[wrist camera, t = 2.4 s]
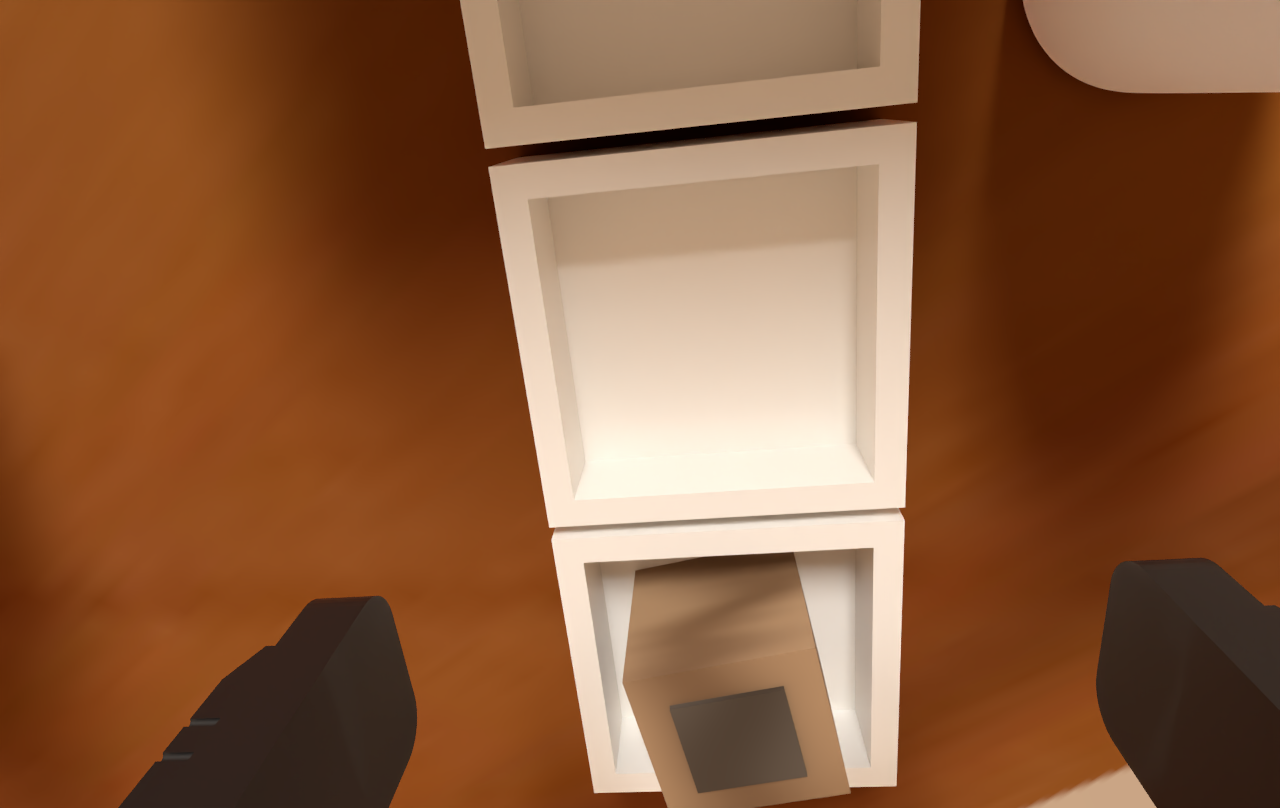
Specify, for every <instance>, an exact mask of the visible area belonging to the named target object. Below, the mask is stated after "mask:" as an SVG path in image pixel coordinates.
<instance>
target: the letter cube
mask: <svg viewBox="0 0 1280 808" xmlns="http://www.w3.org/2000/svg"><path fill="white" fill-rule="evenodd" d="M622 684H623V686H624V689H625V692H626V695H627V697H628V700H629V703H630V705H631V708H632V711H633V714H634V716H635V719H636V722H637V725H638V727H639V730H640V733H641V736H642V738H643V741H644V744H645V747H646V749H647V752H648V755H649V758H650V760H651V763H652V766H653V768H654V771H655V774H656V777H657V779H658V782H659V785H660V788H661V790H662V793H663V796H664V799H665V801H666V804H667V807H668V808H755V807H762V806H769V805H775V804H782V803H789V802H796V801H802V800H809V799H816V798H823V797H829V796H836V795H843V794H850V793H851V791H850V787H849V783H848V778H847V774H846V770H845V765H844V761H843V757H842V752H841V748H840V744H839V739H838V735H837V731H836V726H835V722H834V718H833V713H832V709H831V705H830V700H829V696H828V692H827V687H826V683H825V679H824V675H823V670H822V666H821V662H820V658H819V654H818V649H817V645H816V641H815V637H814V633H813V629H812V625H811V621H810V617H809V613H808V608H807V604H806V600H805V596H804V592H803V588H802V584H801V580H800V576H799V572H798V568H797V563H796V559H795V555H794V552H781V553H762V554H743V555H724V556H704V557H699V558H694V559H690V560H685V561H680V562H675V563H670V564H665V565H660V566H655V567H650V568H646V569H641V570H636V571H635V578H634V587H633V595H632V604H631V612H630V621H629V629H628V638H627V646H626V655H625V663H624V672H623V680H622Z"/></svg>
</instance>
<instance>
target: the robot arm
mask: <svg viewBox="0 0 1280 808" xmlns="http://www.w3.org/2000/svg"><path fill="white" fill-rule="evenodd" d="M1096 690H1097V698H1098V704H1099V708H1100V712H1101V715H1102V718H1103V721H1104V724H1105V726H1106V729H1107V731H1108V733H1109V735H1110V737H1111V739H1112V740H1113V742H1114V744H1115V745H1116V747H1117V748H1118V750H1119V751H1120V753H1121V754H1122V756H1123V757H1124V759H1125V760H1126V762H1127V763H1128V765H1129V766H1130V768H1131V769H1132V771H1133V772H1134V774H1135V775H1136V777H1137V778H1138V780H1139V782H1140V783H1141V785H1142V786H1143V788H1144V789H1145V791H1146V792H1147V794H1148V795H1149V797H1150V798H1151V800H1152V801H1153V803H1154V804H1155V806H1156V807H1157V808H1280V608H1279V607H1277V606H1275V605H1272V606H1264V605H1263V604H1262V603H1260V602H1259V601H1258V600H1257V599H1256V598H1255V597H1254V596H1252V595H1251V594H1250V593H1249V592H1248V591H1247V590H1246V589H1244V588H1243V587H1242V586H1241V585H1240V584H1239V583H1238V582H1237V581H1235V580H1234V579H1233V578H1232V577H1231V576H1230V575H1229V574H1227V573H1226V572H1225V571H1224V570H1223V569H1222V568H1221V567H1219V566H1218V565H1217V564H1215V563H1214V562H1212V561H1210V560H1208V559H1205V558H1187V559H1166V560H1146V561H1125V562H1122V563H1120V564H1119V565H1118V566H1117V567H1116V569H1115V570H1114V573H1113V575H1112V579H1111V584H1110V590H1109V597H1108V604H1107V610H1106V617H1105V623H1104V630H1103V636H1102V643H1101V650H1100V656H1099V663H1098V669H1097V677H1096ZM190 720H191V723H190V726H189V727H183V729H182V730H181V731H180V732H179V734H178V735H177V736H176V737H175V738H174V740H173V741H172V742H171V743H170V745H169V746H168V747H167V748H166V750H165V751H164V752H163V759H162V761H161V762H155V763H154V764H153V766H152V767H151V768H150V769H149V771H148V772H147V773H146V774H145V775H144V777H143V778H142V779H141V780H140V782H139V783H138V784H137V785H136V787H135V788H134V789H133V790H132V792H131V793H130V794H129V795H128V796H127V798H126V799H125V800H124V801H123V803H122V804H121V805H120V806H119V808H389V805H390V803H391V801H392V798H393V796H394V794H395V791H396V789H397V787H398V784H399V782H400V780H401V777H402V775H403V773H404V770H405V768H406V766H407V763H408V761H409V759H410V756H411V753H412V750H413V746H414V741H415V735H416V726H417V708H416V701H415V696H414V692H413V688H412V685H411V681H410V677H409V674H408V670H407V666H406V663H405V659H404V655H403V652H402V648H401V644H400V641H399V637H398V633H397V629H396V626H395V622H394V618H393V615H392V612H391V609H390V606H389V604H388V603H387V601H386V600H385V599H384V598H383V597H380V596H367V597H347V598H326V599H315V600H313V601H311V602H310V603H308V604H307V605H306V607H305V608H304V609H303V610H302V612H301V613H300V614H299V615H298V617H297V618H296V619H295V621H294V622H293V623H292V625H291V626H290V627H289V629H288V630H287V631H286V633H285V634H284V635H283V636H282V638H281V639H280V640H279V642H278V643H277V644H276V646H266V647H264V648H263V649H262V650H260V651H259V652H258V653H256V654H255V655H254V656H252V657H251V658H250V659H249V660H247V661H246V662H245V663H243V664H242V665H241V666H239V667H238V668H237V669H235V670H234V671H233V672H231V673H230V674H229V675H228V676H226V677H225V678H224V679H222V680H221V682H220V683H219V684H218V685H217V687H216V688H215V689H214V690H213V692H212V693H211V694H210V695H209V696H208V698H207V699H206V700H205V701H204V703H203V704H202V705H201V706H200V708H199V709H198V710H197V711H196V713H195V714H194V715H193V716H192V717H191V719H190Z"/></svg>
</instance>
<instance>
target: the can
mask: <svg viewBox="0 0 1280 808" xmlns="http://www.w3.org/2000/svg"><path fill="white" fill-rule="evenodd" d="M1023 4H1024V8H1025V12H1026V15H1027V19H1028V21H1029V24H1030V26H1031V29H1032V31H1033V33H1034V35H1035V37H1036V39H1037V40H1038V42H1039V44H1040V45H1041V47H1042V48H1043V49H1044V51H1045V52H1046V53H1047V55H1048V56H1049V57H1050V58H1051V59H1052V60H1053V61H1054V62H1055V63H1056V64H1057V65H1058V66H1059V67H1060V68H1062V69H1063V70H1064V71H1065V72H1067V73H1068V74H1070V75H1071V76H1073V77H1075V78H1076V79H1078V80H1080V81H1082V82H1084V83H1087V84H1089V85H1092V86H1094V87H1098V88H1101V89H1105V90H1110V91H1117V92H1126V93H1247V92H1280V0H1023Z"/></svg>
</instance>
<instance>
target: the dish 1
mask: <svg viewBox="0 0 1280 808" xmlns="http://www.w3.org/2000/svg"><path fill="white" fill-rule="evenodd" d="M460 4H461V10H462V16H463V22H464V27H465V33H466V39H467V45H468V51H469V57H470V63H471V69H472V75H473V81H474V86H475V92H476V98H477V104H478V110H479V116H480V122H481V128H482V134H483V139H484V145H485V149H489V148H498V147H508V146H517V145H526V144H536V143H545V142H554V141H564V140H573V139H582V138H591V137H601V136H610V135H619V134H629V133H638V132H647V131H657V130H666V129H675V128H685V127H694V126H703V125H712V124H722V123H731V122H740V121H750V120H759V119H768V118H778V117H787V116H796V115H806V114H815V113H824V112H833V111H843V110H852V109H861V108H871V107H880V106H889V105H899V104H908V103H917V102H918V71H919V39H920V7H921V0H460Z"/></svg>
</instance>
